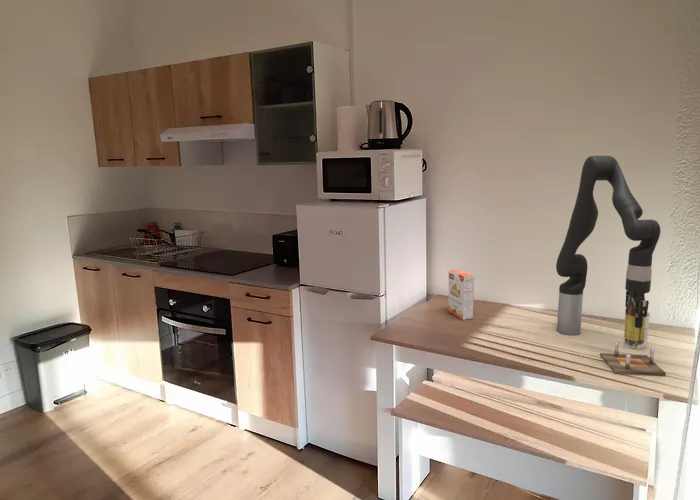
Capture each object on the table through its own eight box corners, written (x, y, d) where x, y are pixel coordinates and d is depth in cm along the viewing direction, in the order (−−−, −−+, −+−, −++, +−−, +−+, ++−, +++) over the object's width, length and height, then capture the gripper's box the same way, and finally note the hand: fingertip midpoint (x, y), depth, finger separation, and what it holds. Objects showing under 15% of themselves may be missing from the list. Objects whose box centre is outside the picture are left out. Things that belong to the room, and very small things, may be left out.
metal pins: (613, 355, 189) (614, 342, 188) (646, 356, 187) (647, 343, 187) (625, 369, 177) (627, 355, 176) (661, 370, 175) (662, 356, 174)
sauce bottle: (637, 339, 184) (641, 285, 181) (647, 345, 178) (652, 289, 175) (619, 339, 184) (623, 285, 181) (629, 345, 178) (633, 289, 175)
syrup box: (623, 345, 202) (626, 309, 200) (634, 343, 204) (637, 307, 202) (635, 350, 197) (639, 313, 195) (647, 348, 199) (650, 311, 197)
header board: (599, 356, 192) (600, 352, 191) (646, 358, 189) (646, 354, 189) (614, 373, 176) (615, 370, 176) (665, 376, 174) (665, 372, 173)
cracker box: (447, 312, 249) (448, 269, 245) (458, 310, 250) (459, 268, 247) (461, 320, 235) (463, 275, 232) (473, 319, 237) (475, 274, 234)
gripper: (619, 272, 185) (615, 317, 188) (634, 282, 171) (630, 330, 174) (642, 273, 183) (638, 318, 186) (659, 282, 169) (654, 331, 172)
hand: (634, 324), depth 180 cm, fingers closed on sauce bottle, 6 cm apart
